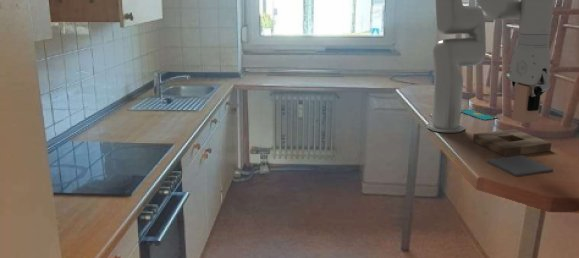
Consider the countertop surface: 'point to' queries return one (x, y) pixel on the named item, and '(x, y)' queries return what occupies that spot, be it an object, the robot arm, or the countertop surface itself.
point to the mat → (519, 165)
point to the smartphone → (476, 114)
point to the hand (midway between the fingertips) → (525, 107)
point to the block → (523, 105)
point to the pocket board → (511, 142)
